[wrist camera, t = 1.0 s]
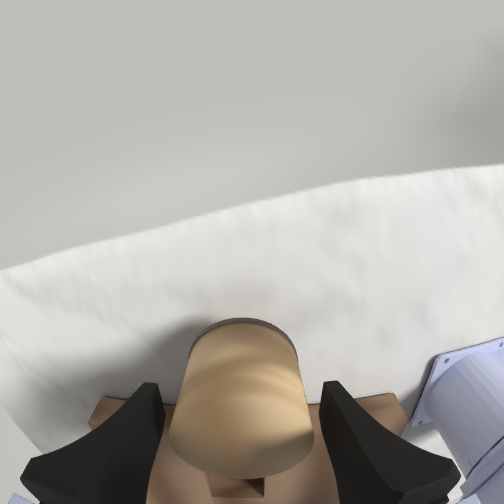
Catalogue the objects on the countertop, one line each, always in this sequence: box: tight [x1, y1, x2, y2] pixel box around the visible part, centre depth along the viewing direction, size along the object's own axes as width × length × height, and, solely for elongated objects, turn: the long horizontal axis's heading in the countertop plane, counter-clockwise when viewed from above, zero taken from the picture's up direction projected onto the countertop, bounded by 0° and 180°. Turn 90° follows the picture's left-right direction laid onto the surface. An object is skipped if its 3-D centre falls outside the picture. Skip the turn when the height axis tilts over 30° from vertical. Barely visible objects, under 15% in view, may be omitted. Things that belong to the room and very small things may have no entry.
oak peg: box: [169, 318, 315, 479], centre depth 13 cm, size 6×6×8 cm
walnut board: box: [88, 393, 408, 504], centre depth 19 cm, size 22×14×3 cm, turn 91°
